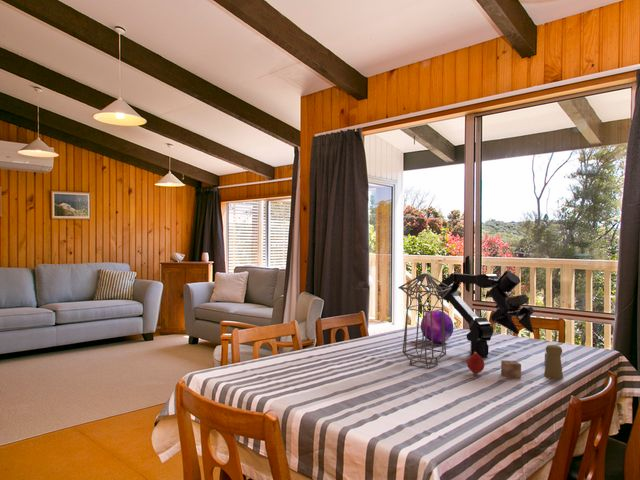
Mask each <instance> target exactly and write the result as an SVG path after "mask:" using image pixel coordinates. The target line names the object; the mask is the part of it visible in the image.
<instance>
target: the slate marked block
mask: <svg viewBox="0 0 640 480" xmlns="http://www.w3.org/2000/svg"><path fill="white" fill-rule="evenodd" d="M546 360H547V353H546V350H544V367H545V366H546Z"/></svg>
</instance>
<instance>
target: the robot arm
mask: <svg viewBox="0 0 640 480" xmlns="http://www.w3.org/2000/svg"><path fill="white" fill-rule="evenodd" d="M441 282H442V283H444V284H446V285H447V286H449V287H451V288H452V289H451V290H450V291H449V292H448V293H447V294H446V295H445V296H444V297H443V300H445V301H447V302H448V303H450V304H451V305H452V307H454V309H455V310H456V311H457V312H458V313H459V315H460V316H461V317H462V318H463V319H464V320H465V321H466V323H467V324H468V328H469V331H468V333H467V334H466V340H467V341H469V342H470V350H469V355H470V356H471V355H473V354H474V352H477V354H478V355H479V356H481V357H482V358H488V356H489V344H488V342H489V341H491V339H492V336H493V334H494V327H493V325H492V323H493V324H495V323H497V324H498V325H500V326H502V327H504V328H505V329H508V330H509V331H511V332H512V333H514V334H515V335H519V334H520V332H519V328H517V325H516V323H514V320H513V318H514V317H516V319H517V320H518V321H517V322H518V323H519V324H520V325H521V326H523V327H524V328H525V329H526V330H527V331H528V332H529V333H531V334H532V333H534V327H533V324H532V321H531V316H532V315H533V314H534V312H535V309H534V308H533V307H531V306H524V305H528V304H529V301H530V297H528V295H527V294H526V293H522V294H519V295H515V296H509V294H508V293H512V291H513V290H514V289H515V288H516V287H517V286H518V285H519V284H520V283H521V278H520V277H519V276H518V275H517V274H515V273H513V272H511V271H510V270H505V271H504V272H503V274H502V275H501V276H500V277H498V275H497V274H496V273H482V274H467V273H461V272H452V273H450V274H449V275H448V277H446V278H445V279H444V280H442V281H441ZM461 283H462V284H463V283H465V284H470V285H471V284H472V285H476V286H477V287H479V288H482V289H490V290H486V293H485V298H492V300H493V302H494V303H495V304H496V305H495V307H494V308H496V310H495V311H494V312H493V313H492V314H491V315H490V320H491V321H492V322H490V321H489V320H488V318H487V317H479V316H478V315H477V314H476V313H475V312H474V311H473V310H472V308H471V307H470V306H469V305H468V304H467V303H466V302H465V300H463V299H462V297H461V296H460V295H459V288H460V287H461V286H460V284H461ZM438 286H439V287H446V286H444V285H443V284H441V283H439V284H438ZM446 289H447V288H444V289H442V290H443V291H444V290H446ZM437 290H439V289H438V288H437ZM439 291H441V290H439ZM447 291H448V290H447ZM447 291H445V292H444V294H445V293H446V292H447ZM436 293H437V295H438V292H436ZM440 293H441V292H439V294H440ZM442 294H443V293H442ZM442 294H441V295H439V297H440V298H441V297H442ZM521 306H523V307H521Z"/></svg>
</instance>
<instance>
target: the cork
mask: <svg viewBox="0 0 640 480" xmlns="http://www.w3.org/2000/svg"><path fill="white" fill-rule="evenodd" d="M545 351H546V353H547V360H546V366H545V365H544V373H543V377H546V378H549V379H553V380H562V379H564V375H563V374H564V373H563V365H562V359H561V355H563V349H562V347H561V346H560V345H556V344H548V345H546V347H545Z"/></svg>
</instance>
